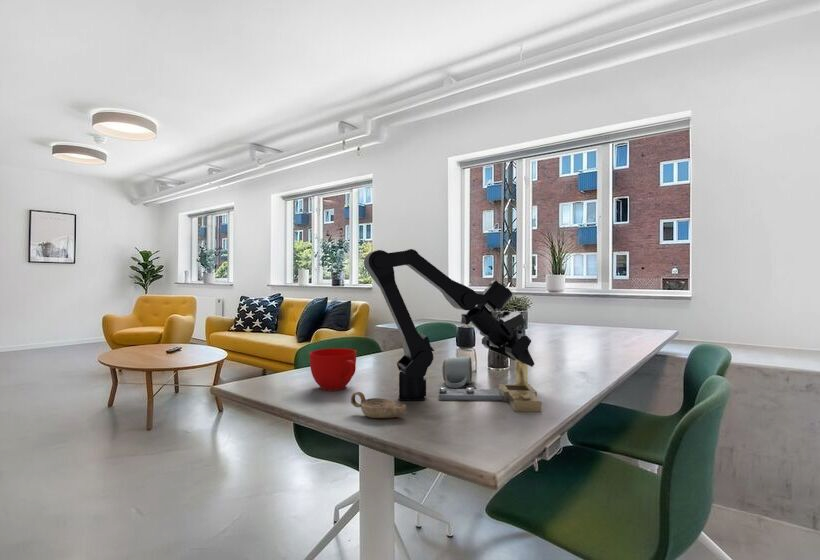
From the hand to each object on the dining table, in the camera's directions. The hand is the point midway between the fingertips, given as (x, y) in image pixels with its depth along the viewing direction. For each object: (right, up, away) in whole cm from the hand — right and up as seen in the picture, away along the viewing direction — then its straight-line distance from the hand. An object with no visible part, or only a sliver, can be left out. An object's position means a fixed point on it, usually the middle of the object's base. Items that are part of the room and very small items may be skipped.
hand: (524, 362), depth 120 cm
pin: (-1, -7, 0) cm, 7 cm away
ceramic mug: (-18, -8, +6) cm, 20 cm away
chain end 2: (-4, -7, -13) cm, 16 cm away
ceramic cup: (-52, -8, 0) cm, 52 cm away
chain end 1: (-12, -7, -9) cm, 17 cm away
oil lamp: (-39, -8, -23) cm, 46 cm away
